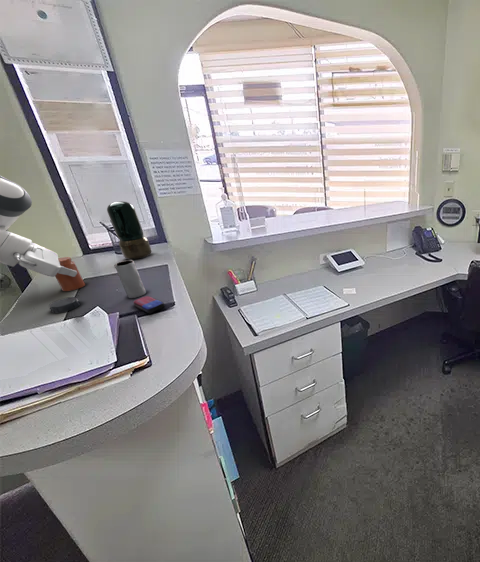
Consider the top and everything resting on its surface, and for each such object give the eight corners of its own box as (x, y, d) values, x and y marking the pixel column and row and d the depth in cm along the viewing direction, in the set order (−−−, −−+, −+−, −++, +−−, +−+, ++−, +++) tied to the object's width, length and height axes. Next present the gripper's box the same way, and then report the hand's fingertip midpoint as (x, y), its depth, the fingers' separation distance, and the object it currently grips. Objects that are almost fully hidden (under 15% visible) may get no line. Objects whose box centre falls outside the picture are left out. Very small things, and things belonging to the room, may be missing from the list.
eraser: (132, 305, 86) (129, 300, 85) (148, 299, 89) (146, 294, 88) (150, 315, 80) (148, 309, 79) (167, 308, 83) (164, 302, 82)
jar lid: (57, 305, 88) (54, 300, 87) (83, 300, 90) (80, 295, 89) (47, 315, 83) (44, 309, 82) (76, 309, 85) (72, 303, 84)
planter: (148, 294, 93) (135, 262, 88) (130, 299, 89) (116, 267, 85) (143, 290, 95) (131, 258, 91) (126, 295, 92) (112, 263, 88)
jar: (61, 292, 96) (46, 264, 92) (63, 287, 100) (48, 259, 96) (85, 287, 99) (71, 259, 95) (85, 282, 103) (72, 255, 99)
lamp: (155, 251, 131) (136, 198, 122) (149, 258, 123) (128, 202, 114) (129, 254, 128) (108, 201, 119) (121, 262, 120) (97, 205, 111)
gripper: (21, 248, 82) (84, 270, 93) (22, 235, 95) (77, 256, 106) (5, 268, 81) (71, 289, 92) (9, 252, 94) (66, 272, 105)
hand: (74, 271), depth 99 cm, fingers closed on jar, 6 cm apart
